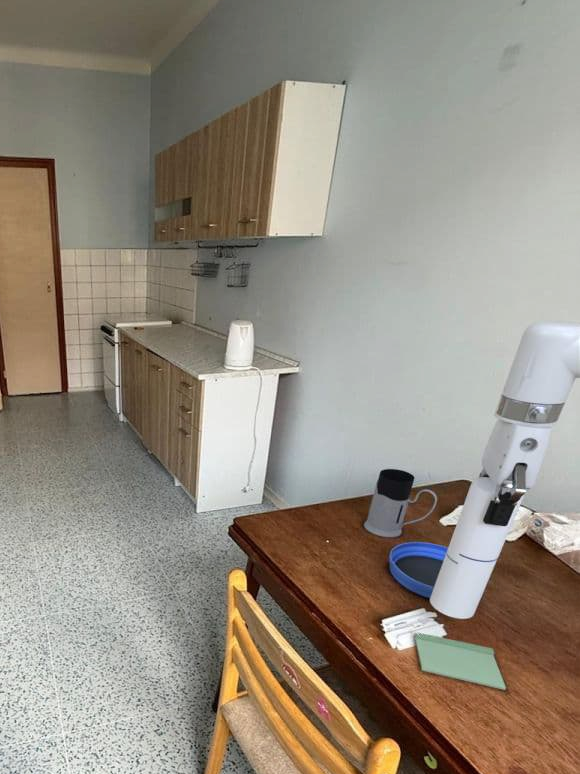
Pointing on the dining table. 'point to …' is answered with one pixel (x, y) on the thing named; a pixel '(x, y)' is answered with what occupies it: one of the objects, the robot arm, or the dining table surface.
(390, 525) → the glass holder
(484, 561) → the cylindrical container
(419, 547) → the bowl
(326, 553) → the dining table surface
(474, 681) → the green flat panel
